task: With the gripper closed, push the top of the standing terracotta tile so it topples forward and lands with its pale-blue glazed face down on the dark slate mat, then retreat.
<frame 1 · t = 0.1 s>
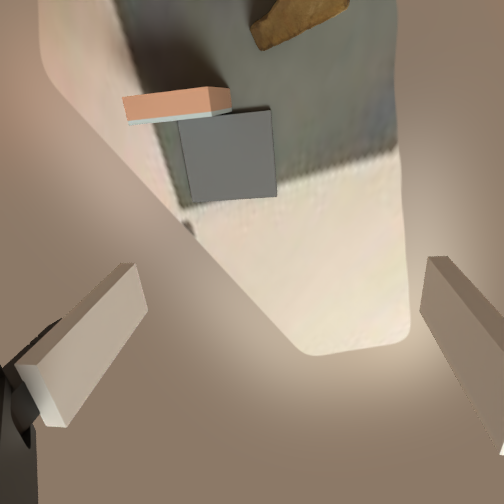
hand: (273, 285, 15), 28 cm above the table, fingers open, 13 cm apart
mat: (229, 158, 40), on the table
rock: (298, 4, 33), on the table
tile: (197, 103, 38), on the table
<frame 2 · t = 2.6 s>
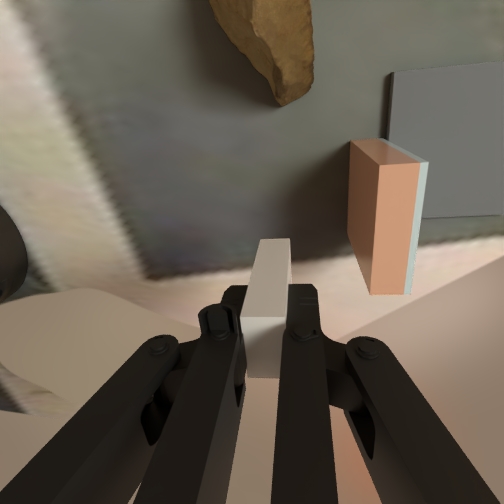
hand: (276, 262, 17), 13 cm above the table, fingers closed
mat: (452, 146, 25), on the table
rock: (257, 32, 24), on the table
tile: (363, 189, 28), on the table
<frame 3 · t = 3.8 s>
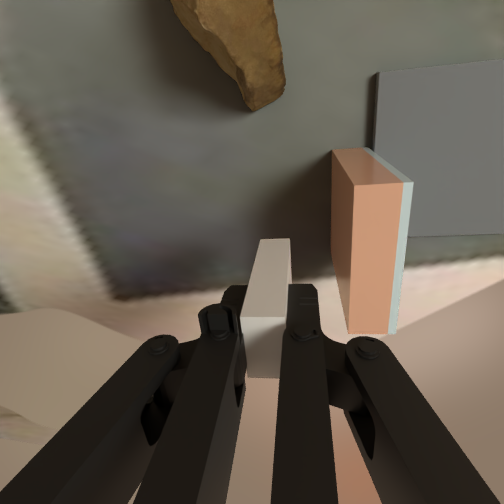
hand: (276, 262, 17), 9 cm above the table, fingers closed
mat: (448, 156, 22), on the table
rock: (223, 27, 21), on the table
tile: (347, 203, 25), on the table
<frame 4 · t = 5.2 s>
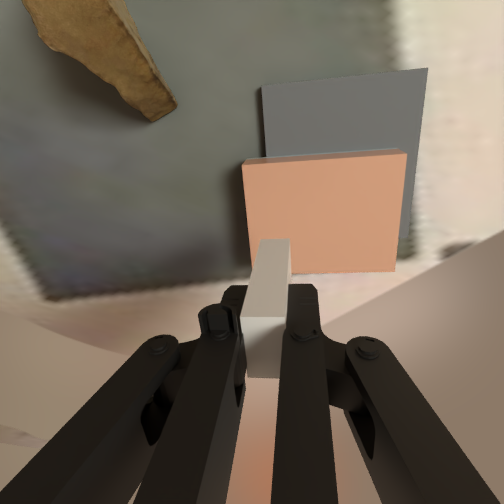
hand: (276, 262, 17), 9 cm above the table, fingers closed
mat: (338, 164, 23), on the table
rock: (118, 42, 22), on the table
tile: (249, 217, 24), point 2 cm above the table, tilted 90°, touching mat
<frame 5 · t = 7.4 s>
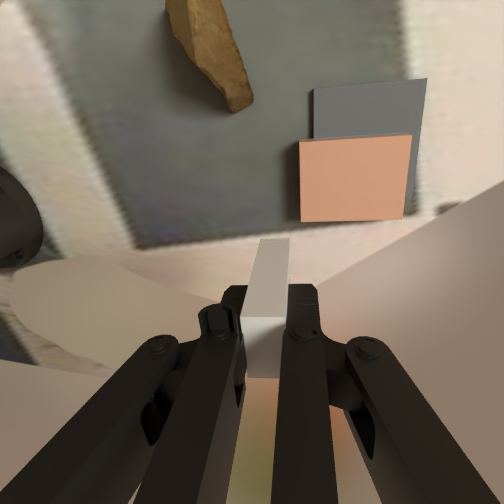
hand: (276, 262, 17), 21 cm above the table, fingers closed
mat: (363, 144, 33), on the table
rock: (215, 58, 32), on the table
tile: (300, 181, 34), point 2 cm above the table, tilted 90°, touching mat
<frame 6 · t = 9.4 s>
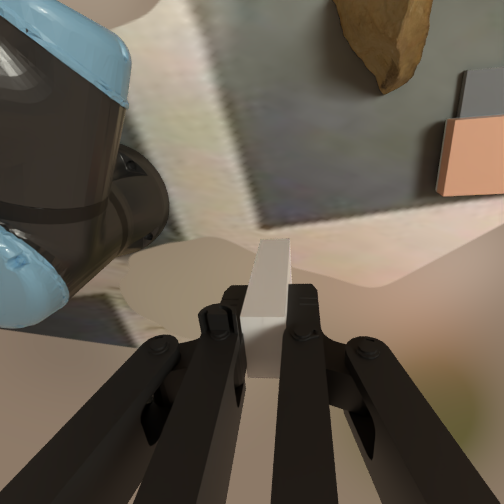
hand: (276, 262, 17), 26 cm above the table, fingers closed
rock: (370, 43, 35), on the table
tile: (444, 158, 36), point 2 cm above the table, tilted 90°, touching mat
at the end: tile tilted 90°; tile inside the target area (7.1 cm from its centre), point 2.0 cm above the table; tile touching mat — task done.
